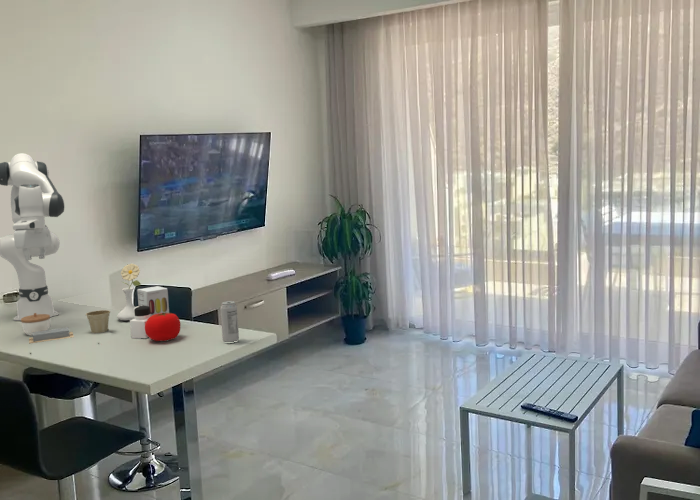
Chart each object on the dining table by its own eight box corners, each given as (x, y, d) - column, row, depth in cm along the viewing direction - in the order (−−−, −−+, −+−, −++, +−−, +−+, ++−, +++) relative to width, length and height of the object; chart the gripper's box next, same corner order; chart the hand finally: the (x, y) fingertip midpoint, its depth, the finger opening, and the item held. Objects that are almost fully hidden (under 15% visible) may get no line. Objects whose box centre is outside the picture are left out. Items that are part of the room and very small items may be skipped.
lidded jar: (40, 339, 265) (38, 316, 264) (17, 339, 268) (14, 316, 266) (57, 332, 276) (55, 310, 274) (34, 332, 278) (32, 310, 277)
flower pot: (91, 331, 275) (89, 310, 274) (114, 329, 276) (113, 309, 274) (84, 337, 266) (82, 315, 264) (108, 335, 266) (106, 314, 265)
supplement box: (149, 332, 268) (145, 291, 265) (139, 329, 275) (136, 289, 272) (171, 328, 274) (168, 287, 272) (161, 324, 281) (158, 285, 278)
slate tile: (33, 338, 263) (32, 332, 263) (68, 333, 269) (68, 327, 268) (33, 341, 258) (32, 335, 258) (69, 336, 263) (68, 330, 263)
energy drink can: (233, 338, 252) (230, 300, 250) (242, 341, 248) (239, 302, 246) (219, 342, 248) (216, 303, 246) (228, 345, 244) (226, 305, 242)
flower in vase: (111, 321, 290) (105, 265, 287) (129, 315, 301) (124, 261, 297) (135, 323, 285) (130, 265, 282) (152, 317, 296) (147, 261, 293)
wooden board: (29, 340, 265) (29, 337, 264) (72, 334, 271) (72, 331, 271) (29, 346, 256) (29, 343, 255) (74, 339, 262) (73, 337, 262)
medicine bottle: (157, 334, 265) (154, 304, 263) (146, 339, 258) (143, 308, 257) (142, 333, 267) (139, 304, 266) (130, 338, 260) (128, 308, 259)
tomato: (171, 344, 248) (169, 317, 247) (139, 344, 250) (137, 317, 249) (187, 334, 262) (185, 308, 261) (157, 334, 264) (155, 308, 263)
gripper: (39, 224, 275) (42, 258, 275) (9, 225, 254) (12, 261, 255) (54, 224, 274) (57, 257, 274) (25, 224, 254) (28, 260, 254)
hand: (35, 259), depth 264 cm, fingers open, 8 cm apart
